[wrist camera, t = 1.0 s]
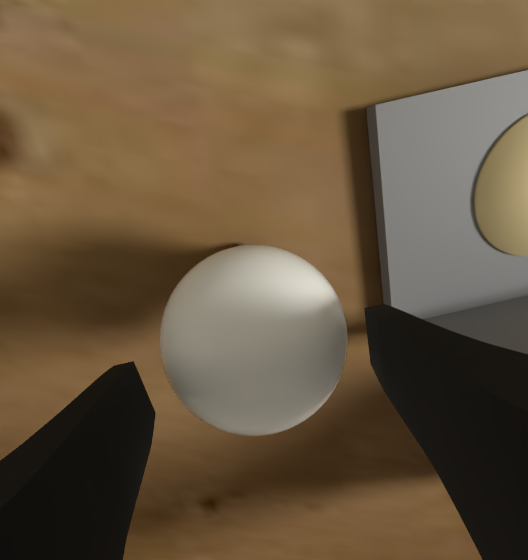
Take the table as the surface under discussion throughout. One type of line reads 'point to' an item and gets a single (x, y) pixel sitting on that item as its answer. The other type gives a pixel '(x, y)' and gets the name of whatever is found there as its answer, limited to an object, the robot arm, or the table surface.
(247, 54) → the table surface
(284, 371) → the lightbulb
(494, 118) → the lamp base
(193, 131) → the table surface
